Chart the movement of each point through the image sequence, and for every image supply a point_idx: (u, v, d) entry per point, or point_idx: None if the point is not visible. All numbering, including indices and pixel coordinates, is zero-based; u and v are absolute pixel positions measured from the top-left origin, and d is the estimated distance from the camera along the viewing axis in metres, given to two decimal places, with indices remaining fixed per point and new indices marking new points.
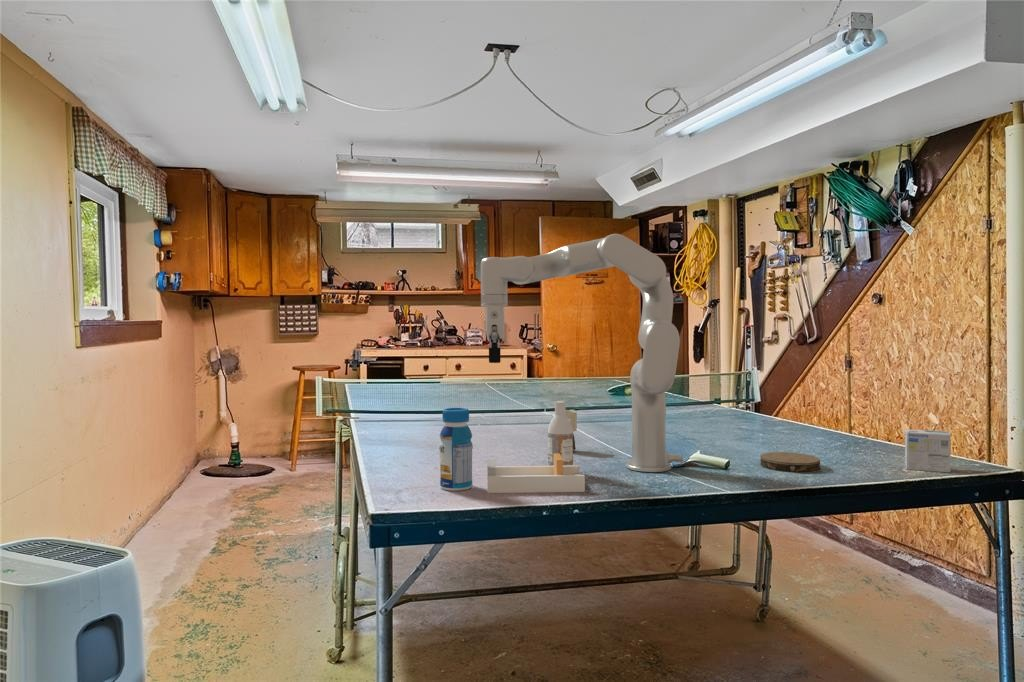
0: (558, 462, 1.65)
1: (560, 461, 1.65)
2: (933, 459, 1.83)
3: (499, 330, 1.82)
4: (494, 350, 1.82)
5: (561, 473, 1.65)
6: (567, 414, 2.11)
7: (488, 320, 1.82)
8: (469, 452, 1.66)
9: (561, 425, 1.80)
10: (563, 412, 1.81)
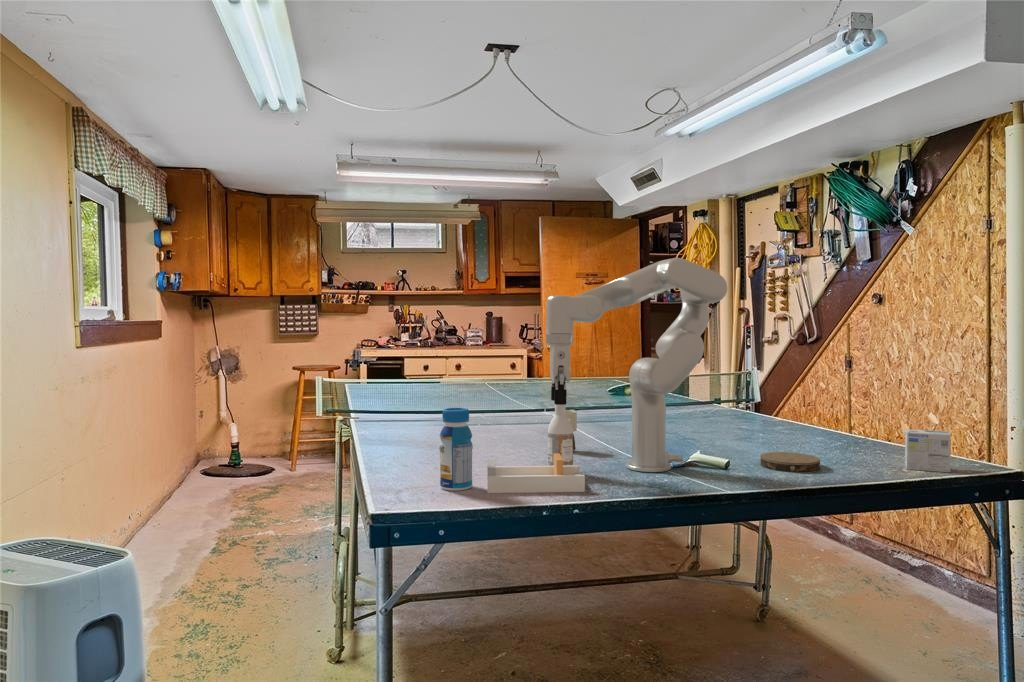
0: (558, 462, 1.65)
1: (560, 461, 1.65)
2: (933, 459, 1.83)
3: (566, 371, 1.77)
4: (560, 392, 1.77)
5: (561, 473, 1.65)
6: (567, 414, 2.11)
7: (554, 360, 1.77)
8: (469, 452, 1.66)
9: (561, 425, 1.80)
10: (563, 412, 1.81)
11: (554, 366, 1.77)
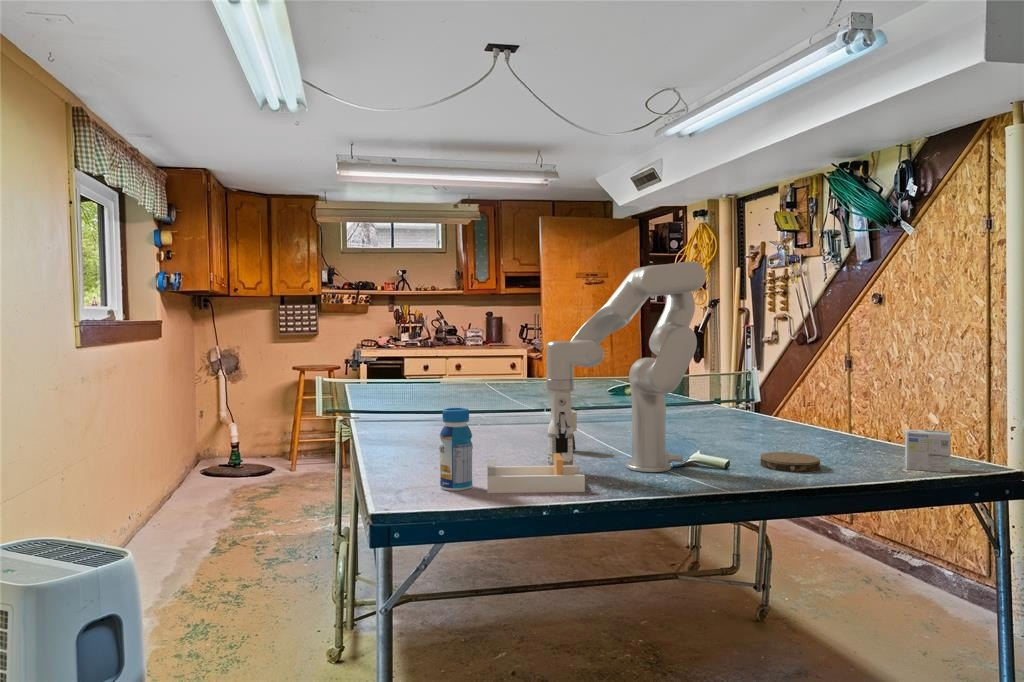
0: (558, 462, 1.65)
1: (560, 461, 1.65)
2: (933, 459, 1.84)
3: (567, 417, 1.78)
4: (562, 440, 1.78)
5: (561, 473, 1.65)
6: None
7: (556, 407, 1.78)
8: (469, 452, 1.66)
9: None
10: None
11: (555, 413, 1.78)
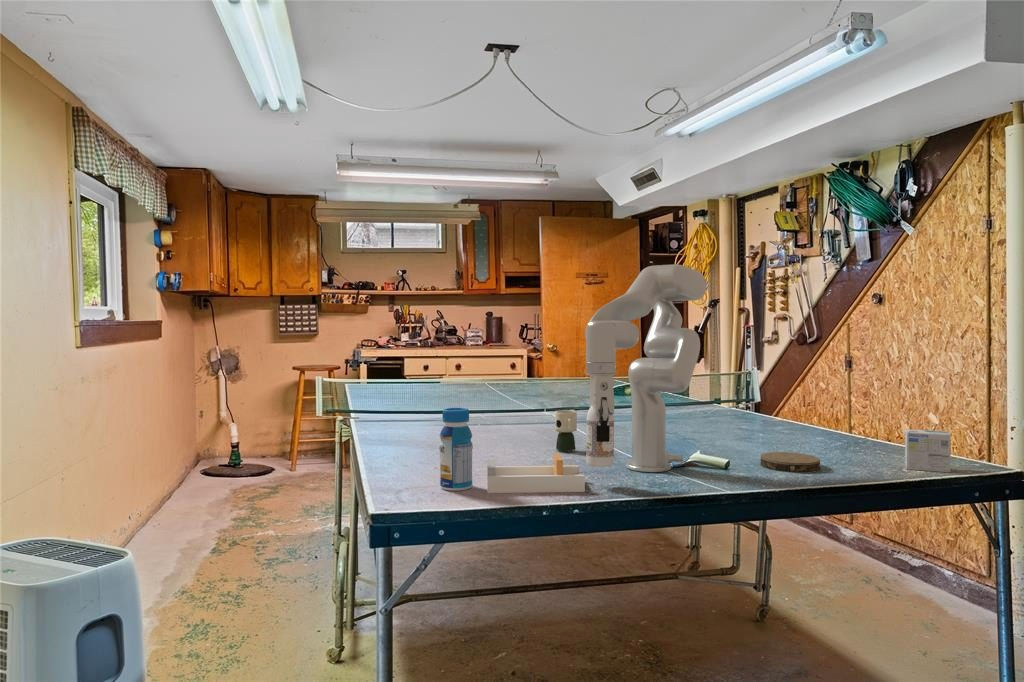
0: (558, 462, 1.65)
1: (560, 461, 1.65)
2: (933, 459, 1.83)
3: (609, 403, 1.64)
4: (603, 428, 1.64)
5: (561, 473, 1.65)
6: (567, 414, 2.11)
7: (597, 392, 1.64)
8: (469, 452, 1.66)
9: None
10: None
11: (596, 398, 1.64)
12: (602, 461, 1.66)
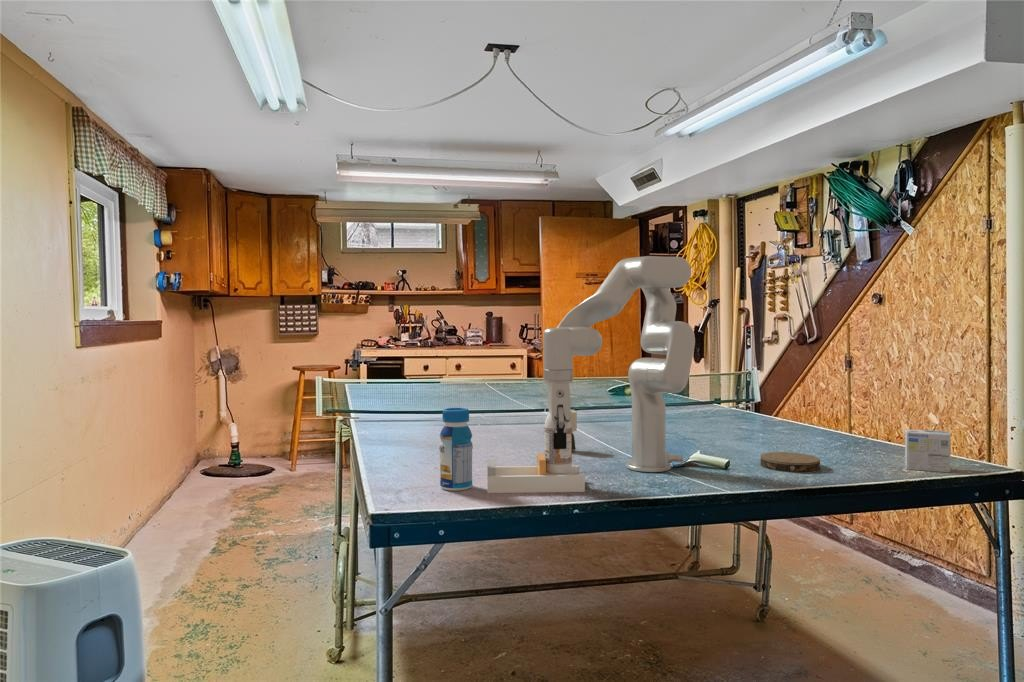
0: (541, 462, 1.64)
1: (543, 461, 1.64)
2: (933, 459, 1.84)
3: (565, 411, 1.64)
4: (560, 435, 1.64)
5: (543, 473, 1.65)
6: None
7: (553, 399, 1.64)
8: (469, 452, 1.66)
9: None
10: None
11: (553, 405, 1.64)
12: (560, 468, 1.66)
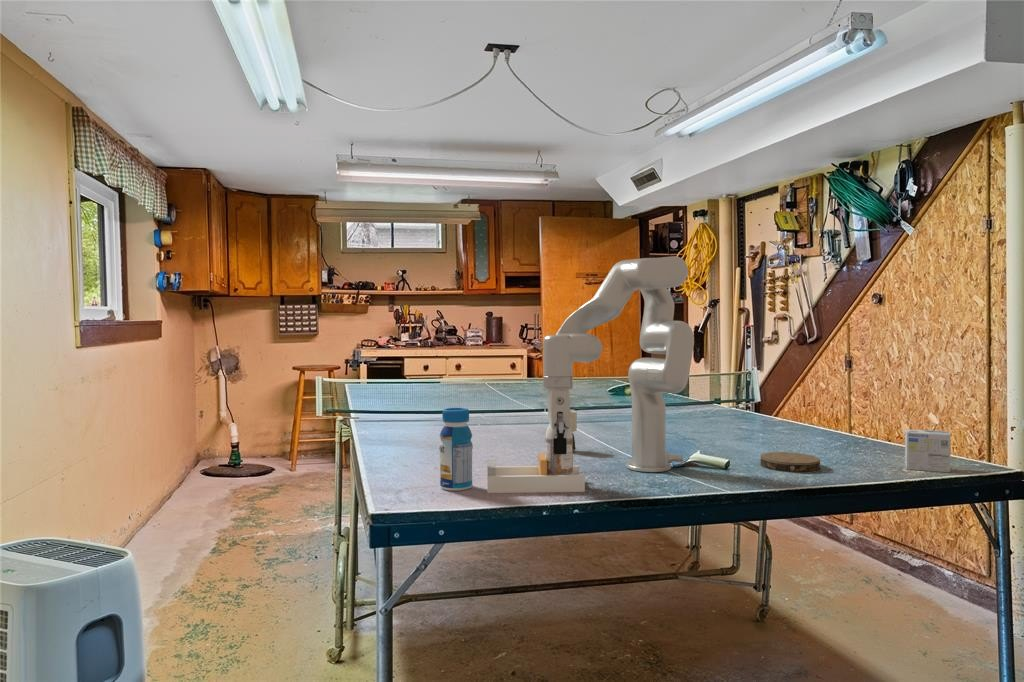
0: (542, 462, 1.64)
1: (544, 461, 1.64)
2: (933, 459, 1.84)
3: (565, 418, 1.64)
4: (560, 440, 1.63)
5: (544, 473, 1.65)
6: None
7: (553, 406, 1.64)
8: (469, 452, 1.66)
9: None
10: None
11: (552, 412, 1.64)
12: None
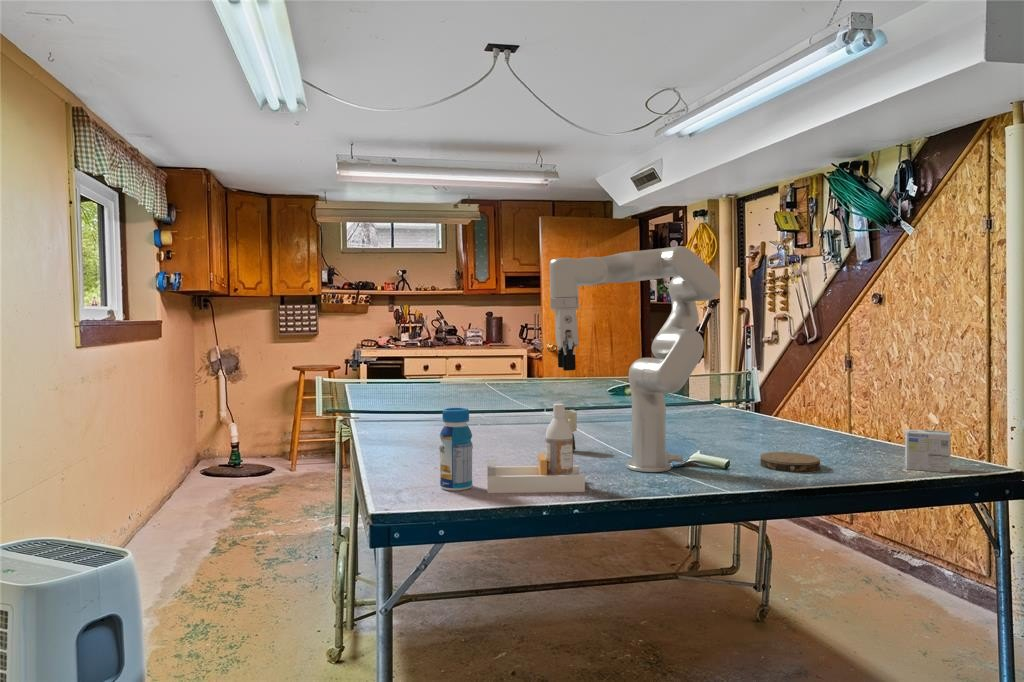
0: (542, 462, 1.64)
1: (544, 461, 1.64)
2: (933, 459, 1.84)
3: (573, 335, 1.71)
4: (569, 357, 1.71)
5: (544, 473, 1.65)
6: (567, 414, 2.11)
7: (561, 325, 1.71)
8: (469, 452, 1.66)
9: (560, 429, 1.66)
10: (562, 415, 1.68)
11: (561, 331, 1.71)
12: None
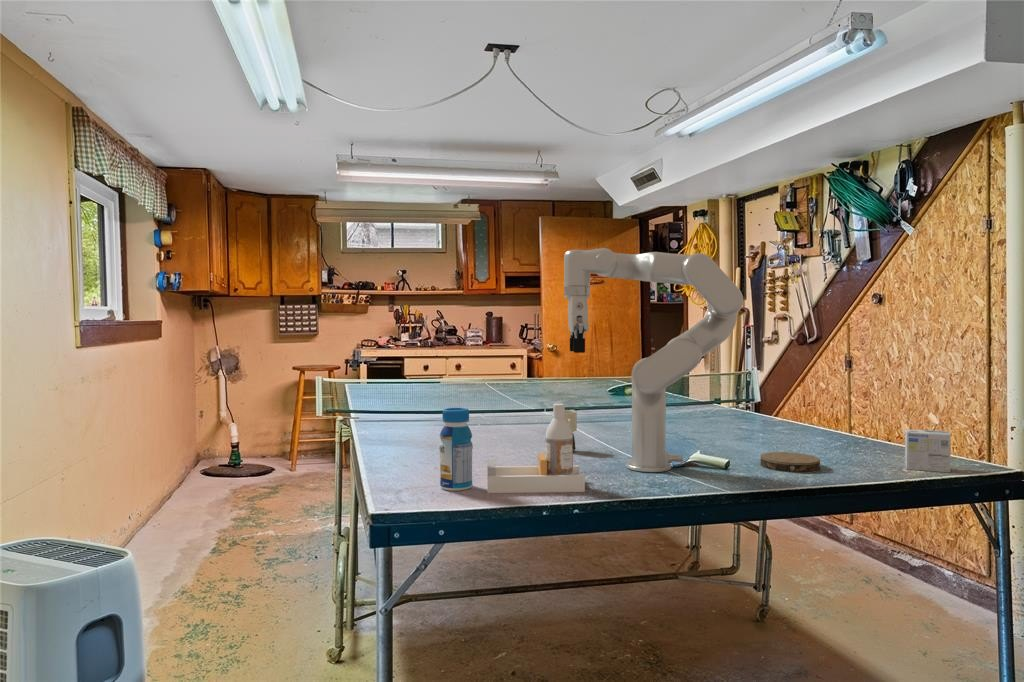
0: (542, 462, 1.64)
1: (544, 461, 1.64)
2: (933, 459, 1.84)
3: (584, 321, 1.87)
4: (579, 340, 1.86)
5: (544, 473, 1.65)
6: (567, 414, 2.11)
7: (573, 311, 1.87)
8: (469, 452, 1.66)
9: (560, 429, 1.66)
10: (562, 415, 1.68)
11: (573, 316, 1.87)
12: None
